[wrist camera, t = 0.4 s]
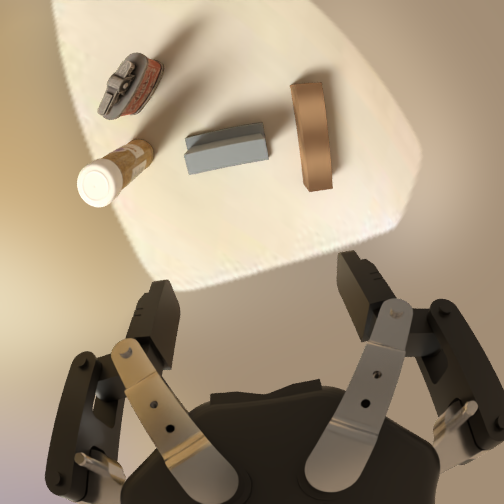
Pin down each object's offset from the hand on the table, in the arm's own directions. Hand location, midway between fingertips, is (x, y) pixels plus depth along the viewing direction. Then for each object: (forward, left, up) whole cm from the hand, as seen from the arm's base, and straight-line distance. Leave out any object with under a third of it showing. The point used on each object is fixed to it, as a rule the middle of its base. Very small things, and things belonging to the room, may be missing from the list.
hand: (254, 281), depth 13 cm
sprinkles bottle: (-4, -13, -26) cm, 30 cm away
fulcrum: (-2, -1, -26) cm, 26 cm away
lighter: (-13, -10, -26) cm, 31 cm away
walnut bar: (-2, +10, -26) cm, 28 cm away
